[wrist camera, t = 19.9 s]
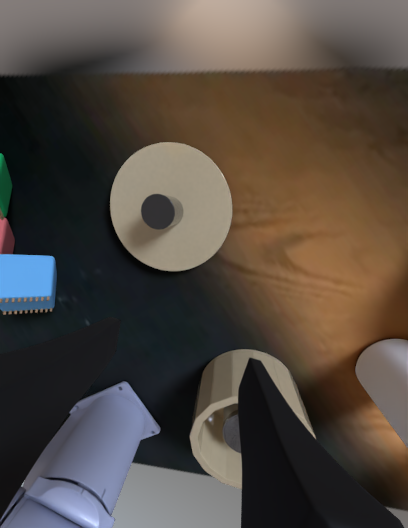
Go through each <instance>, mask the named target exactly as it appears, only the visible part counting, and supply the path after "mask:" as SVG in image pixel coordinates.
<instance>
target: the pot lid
mask: <svg viewBox="0 0 408 528" xmlns="http://www.w3.org/2000/svg"><path fill="white" fill-rule="evenodd" d="M110 212H111V218H112V222H113V226H114V228H115V231H116V233H117V235H118V237H119V239H120V241H121V242H122V244H123V245H124V246H125V248H126V249H127V250H128V251H129V252H130V253H131V254H132V255H133V256H134V257H135V258H137V259H138V260H140V261H141V262H143V263H145V264H146V265H148V266H151V267H153V268H156V269H160V270H165V271H182V270H187V269H191V268H194V267H196V266H199V265H200V264H202V263H204V262H206V261H207V260H208V259H209V258H211V257H212V256H213V255H214V254H215V253H216V252H217V251H218V249H219V248H220V247H221V245H222V244H223V242H224V240H225V239H226V236H227V234H228V231H229V228H230V224H231V219H232V200H231V194H230V190H229V187H228V184H227V182H226V179H225V178H224V176H223V174H222V172H221V171H220V169H219V168H218V167H217V165H216V164H215V163H214V162H213V161H212V160H211V159H210V158H209V157H208V156H206V155H205V154H204V153H202V152H201V151H199V150H197V149H195V148H193V147H191V146H188V145H185V144H181V143H174V142H163V143H157V144H152V145H150V146H147V147H144V148H143V149H141V150H139V151H137V152H136V153H135V154H133V155H132V156H131V157H130V158H129V159H128V160H127V161H126V162H125V163H124V164H123V166H122V167H121V168H120V170H119V172H118V174H117V176H116V178H115V180H114V183H113V186H112V190H111V197H110Z"/></svg>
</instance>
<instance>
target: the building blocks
mask: <svg viewBox="0 0 408 528" xmlns="http://www.w3.org/2000/svg"><path fill="white" fill-rule="evenodd" d="M11 191H12V182H11V179H10V176H9V172H8V169H7V166H6V162H5V159H4V156H3V155H2V154H1V153H0V309H1V310H2V311H3V315H6V311H9V314H11V313H12V311H14V314H17V311H20V313H19V314H22V311H23V310H25V313H27V312H28V310H30V313H33V310H35V313H37V312H38V310H39V309H40V312H43V309H45V312H47V310H48V309H50V312H52V308H54V306H55V295H56V281H57V270H56V263H55V258H54V257H53V256H41V255H14V254H13V250H14V244H15V238H14V236H13V233H12V230H11V228H10V225H9V223H8V220H7V219H6V218H5V217H6V216H7V212H8V207H9V202H10V197H11Z"/></svg>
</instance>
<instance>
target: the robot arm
mask: <svg viewBox="0 0 408 528" xmlns="http://www.w3.org/2000/svg"><path fill="white" fill-rule="evenodd" d="M120 321H121V320H119V319H116V318H112V317H109V318H106V319H104V320H101V321H99V322H97V323H94V324H92V325H90V326H87V327H85V328H82V329H80V330H78V331H75V332H73V333H70V334H67V335H65V336H62V337H59V338H56V339H54V340H51V341H48V342H45V343H42V344H38V345H35V346H31V347H28V348H24V349H20V350H16V351H11V352H7V353H3V354H0V528H112V527H113V523H114V521H115V518H114V517H112V516H111V515H112V512H113V510H114V507H115V504H116V502H117V499H118V497H119V494H120V492H121V489H122V486H123V484H124V481H125V479H126V476H127V473H128V471H129V468H130V466H131V463H132V461H133V458H134V455H135V453H136V450H137V448H138V445H139V442H140V440H142V439H145V438H147V437H150V436H153V435H156V434H158V433H159V432H160V430H161V428H160V426H159V425H158V424H157V422H156V421H155V420H154V418H153V417H152V415H151V414H150V413H149V411H148V410H147V409H146V407H145V406H144V404H143V403H142V402H141V400H140V399H139V398H138V396H137V395H136V393H135V392H134V391H133V389H132V388H131V387H130V385H129V384H128V383H127V382H125V381H123V382H121V383H118V384H116V385H114V386H112V387H109V388H107V389H105V390H103V391H100V392H98V393H96V394H93V395H91V396H89V397H87V398H84V399H82V400H80V399H81V397H82V396H83V395H84V394H85V392H86V391H87V390H88V389H89V387H90V386H91V385H92V384H93V383H94V381H95V380H96V379H97V378H98V376H99V375H100V374H101V373H102V371H103V370H104V369H105V368H106V366H107V365H108V363H109V361H110V360H111V358H112V357H113V355H114V353H115V352H116V347H117V341H118V334H119V328H120ZM121 387H122V388H121ZM79 400H80V401H79ZM69 413H70V414H71V415H70V417H69V418H68V419H67V420H66V422H65V423H64V424H63V426H62V427H61V428H60V430H59V431H58V432H57V433H56V431H57V430H58V428H59V427H60V425H61V424H62V422H63V421H64V419H65V418H66V416H67V415H68V414H69ZM238 419H239V432H240V446H241V459H242V514H241V528H404V527H403V525H402V523H401V522H400V520H399V519H398V518H397V517H396V516H394V515H393V514H392V513H391V512H390V511H389V510H387V509H386V508H385V507H384V506H383V505H382V504H381V503H380V502H378V501H377V500H376V499H375V498H374V497H373V496H372V495H371V494H369V493H368V492H367V491H366V490H365V489H364V488H363V487H362V486H361V485H360V484H359V483H358V482H357V481H355V480H354V479H353V478H352V477H351V476H350V475H349V474H348V473H347V472H346V471H345V470H344V469H343V468H342V467H341V466H340V465H339V464H338V463H337V462H336V461H335V460H334V459H333V458H332V456H331V455H330V454H329V453H328V452H327V451H326V450H325V449H324V448H323V447H322V446H321V445H320V443H319V442H318V441H317V440H316V439H315V438H314V437H313V435H312V434H311V433H310V432H309V430H308V429H307V428H306V427H305V426H304V424H303V423H302V422H301V421H300V419H299V418H298V417H297V415H296V414H295V413H294V411H293V410H292V408H291V407H290V406H289V404H288V403H287V401H286V400H285V398H284V397H283V395H282V394H281V392H280V391H279V389H278V388H277V386H276V385H275V383H274V381H273V380H272V378H271V376H270V375H269V373H268V371H267V370H266V368H265V366H264V365H263V363H262V362H261V360H257V359H254V358H250V357H249V360H248V363H247V366H246V368H245V371H244V374H243V377H242V379H241V382H240V385H239V389H238ZM55 433H56V435H55V436H54V434H55ZM53 436H54V437H53ZM52 437H53V439H52V440H51V438H52ZM50 440H51V441H50ZM49 442H50V443H49ZM48 443H49V444H48ZM24 480H25V482H24ZM23 482H24V486H23V487H21V485H22V483H23Z"/></svg>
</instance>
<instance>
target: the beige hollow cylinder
mask: <svg viewBox="0 0 408 528" xmlns="http://www.w3.org/2000/svg"><path fill="white" fill-rule="evenodd" d="M249 357H250V358H254V359H257V360H261V362H262V363H263V365H264V366H265V368H266V370H267V371H268V373H269V375H270V376H271V378H272V380H273V381H274V383H275V385H276V386H277V388H278V389H279V391H280V392H281V394H282V395H283V397H284V398H285V400H286V401H287V403H288V404H289V406H290V407H291V408H292V410H293V411H294V413H295V414H296V415H297V417H298V418H299V419H300V421H301V422H302V423H303V424H304V426H305V427H306V428H307V429H308V430H309V432H310V433H311V434H312V435H313V437H314V438H315V439H316V437H315V434H314V431H313V428H312V426H311V423H310V420H309V418H308V415H307V412H306V410H305V407H304V404H303V402H302V399H301V396H300V394H299V391H298V388H297V385H296V383H295V382H294V380H293V377H292V375H291V373H290V372H289V370H288V369H287V368H286V367H285V366H284V364H282V363H281V362H280V361H279V360H277V359H276V358H274V357H273V356H271V355H269V354H266V353H264V352H261V351H256V350H250V349H240V350H233V351H229V352H226V353H223V354H221V355H219V356H217V357H216V358H214V359H213V360H212V361H211V362H210V363H209V364H208V365H207V366H206V368H205V369H204V371H203V373H202V376H201V379H200V383H199V386H198V392H197V398H196V403H195V409H194V414H193V420H192V426H191V431H190V441H191V446H192V452H193V455H194V456H195V458H196V459H197V461H198V462H199V463H200V465H201V466H202V468H203V469H204V470H205V471H206V472H207V473H209V474H210V475H212V476H213V477H214V478H216V479H217V480H219V481H220V482H222V483H224V484H227V485H230V486H233V487H236V488H239V489H242V459H241V453H238V452H236V451H234V450H233V449H231V448H230V447H229V446H228V445H227V443H226V442H225V440H224V438H223V434H222V427H223V414H224V407H226V406H229V405H232V404H238V389H239V385H240V382H241V379H242V377H243V374H244V371H245V368H246V366H247V363H248V360H249Z"/></svg>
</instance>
